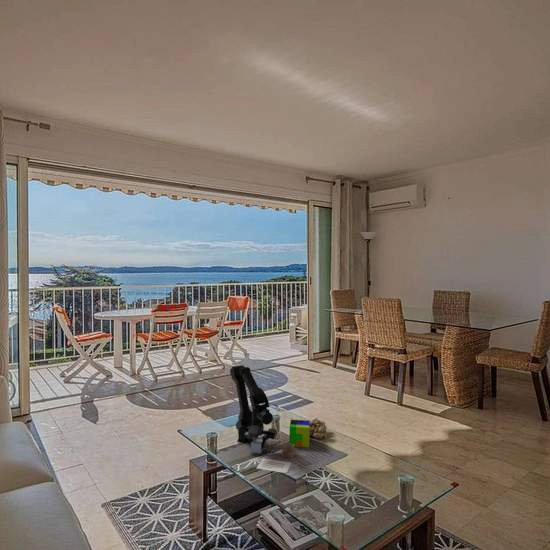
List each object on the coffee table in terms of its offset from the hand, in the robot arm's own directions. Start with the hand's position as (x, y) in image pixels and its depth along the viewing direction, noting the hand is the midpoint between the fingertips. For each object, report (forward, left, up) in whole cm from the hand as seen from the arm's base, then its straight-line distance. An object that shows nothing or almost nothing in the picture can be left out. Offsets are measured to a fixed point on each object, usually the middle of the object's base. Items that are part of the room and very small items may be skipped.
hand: (257, 449), depth 200 cm
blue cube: (0, 0, -1) cm, 1 cm away
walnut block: (+16, 0, -1) cm, 16 cm away
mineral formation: (+25, +28, -1) cm, 38 cm away
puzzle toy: (+18, +16, -1) cm, 24 cm away
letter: (+12, -12, -1) cm, 17 cm away
